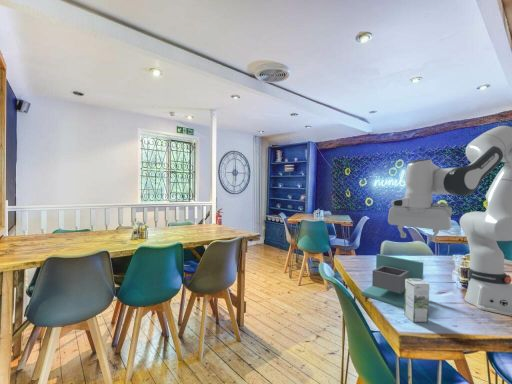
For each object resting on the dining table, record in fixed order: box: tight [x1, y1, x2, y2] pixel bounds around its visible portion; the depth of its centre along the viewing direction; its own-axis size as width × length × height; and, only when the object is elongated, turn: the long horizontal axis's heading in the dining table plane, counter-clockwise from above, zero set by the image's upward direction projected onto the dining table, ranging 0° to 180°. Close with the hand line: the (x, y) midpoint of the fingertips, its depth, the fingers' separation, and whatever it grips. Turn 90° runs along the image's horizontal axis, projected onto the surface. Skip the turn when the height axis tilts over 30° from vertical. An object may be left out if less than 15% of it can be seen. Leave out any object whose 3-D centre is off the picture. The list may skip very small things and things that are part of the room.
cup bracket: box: [361, 253, 424, 309], centre depth 120 cm, size 20×18×16 cm
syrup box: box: [403, 279, 430, 323], centre depth 99 cm, size 6×6×14 cm
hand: (417, 239), depth 99 cm, fingers open, 8 cm apart
